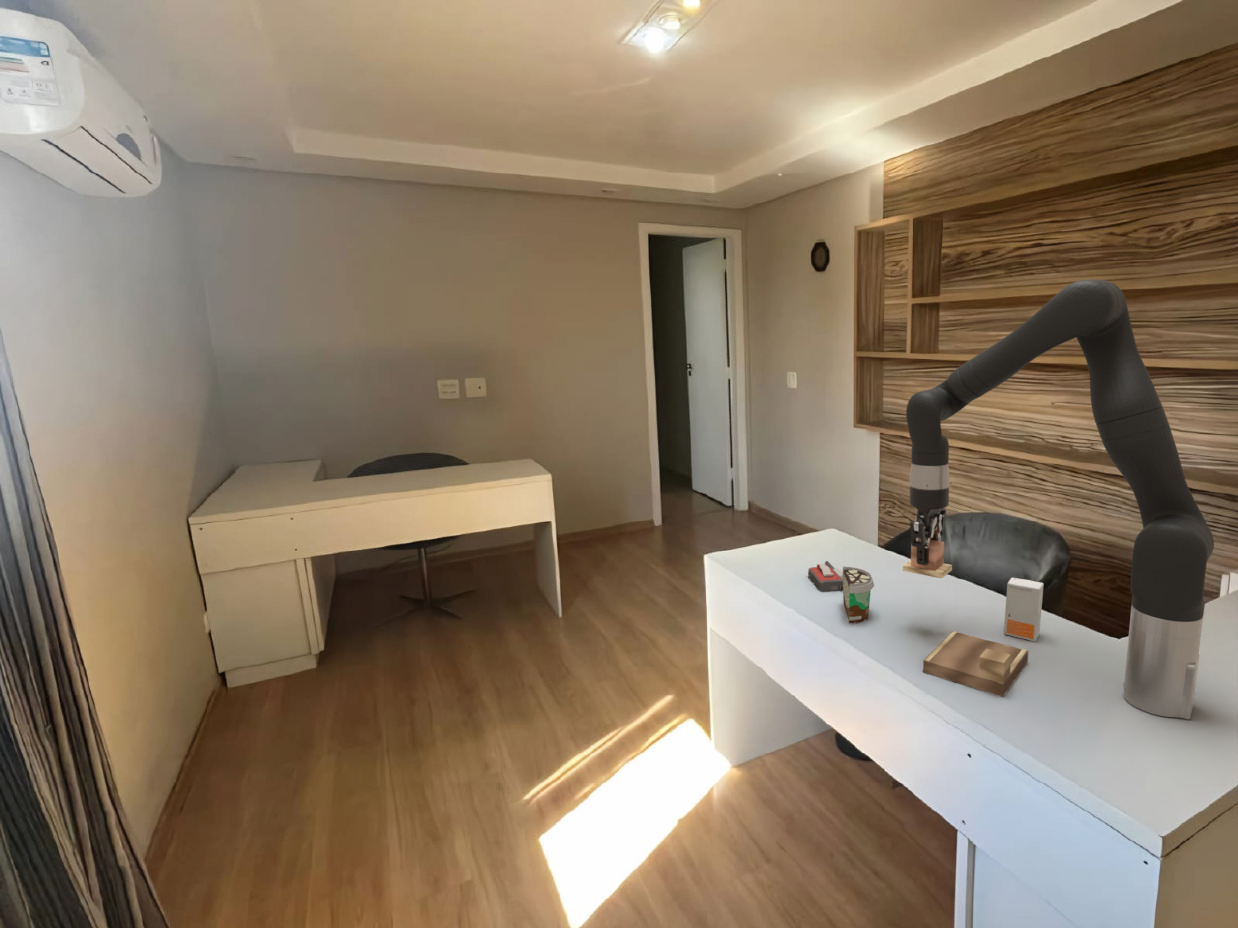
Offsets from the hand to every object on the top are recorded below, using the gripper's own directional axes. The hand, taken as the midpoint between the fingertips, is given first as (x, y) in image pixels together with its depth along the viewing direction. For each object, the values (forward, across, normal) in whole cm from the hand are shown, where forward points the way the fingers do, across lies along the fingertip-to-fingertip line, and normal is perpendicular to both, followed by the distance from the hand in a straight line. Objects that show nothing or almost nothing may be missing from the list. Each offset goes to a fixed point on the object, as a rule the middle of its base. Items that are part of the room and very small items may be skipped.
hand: (927, 560), depth 139 cm
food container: (+17, 0, +15) cm, 23 cm away
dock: (+17, -9, -13) cm, 23 cm away
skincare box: (+17, +11, -16) cm, 26 cm away
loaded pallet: (+2, 0, 0) cm, 2 cm away
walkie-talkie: (+17, +16, +32) cm, 40 cm away
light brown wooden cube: (+14, -15, -18) cm, 27 cm away
